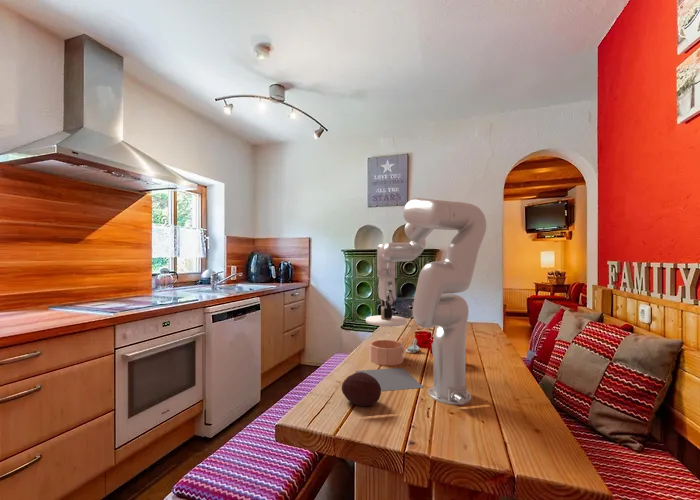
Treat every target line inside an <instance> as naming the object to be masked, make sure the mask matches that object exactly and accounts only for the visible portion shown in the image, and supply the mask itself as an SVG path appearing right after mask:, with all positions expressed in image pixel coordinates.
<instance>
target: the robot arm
mask: <svg viewBox="0 0 700 500" xmlns="http://www.w3.org/2000/svg"><path fill="white" fill-rule="evenodd" d="M402 211H403V218H404V221H405V222H406V224H405V226H404V233H405V236H406V237H407V238H408V239H409V240H410V242H387V243H380V244H378V245H377V248H376V256H377V257H376V259H377V260H376V261H377V262H376V263H377V264H376V266H377V267H376V270H377V271H376V273H377V274H376V276H377V277H378V298H379V299H380V308H381V307H382V306H385V308H384V318H392V316H393V304H394V302H396V300H397V298H396V297H397V292H396V289H397V288H396V280H395V278H396V262H412V261H414V260H415V259H416V258H418V257H419V256H420V255H421V254H422V253H423V252H424V250H425V248H426V238H427V237H429V235H430V234H431V233H432V232H433V231H434V230H442V231H447V230H448V231H457V233H456V235H455V236H454V237H453V238H452V239H451V241H450V243H449V244H448V248H447V251H446V255H445V258H444V260H443V261H431V262H428V263H426V264H425V265H424V266H423V267H422V268H421V270H420V272H419V274H418V279H417V283H416V289H415V294H414V299H413V302H412V303H413V304H412V317H413V319H414V321H415V323H416V324H417V325H418V326H419V327H422V328H425V329H428V328H436V329H435V331H434V334H433V339H432V340H433V342H432V343H433V353H432V358H433V359H432V361H433V363H432V365H433V366H432V367H433V368H432V369H433V371H432V372H433V386H430V387H429V389H428V396H429V397H430V398H431V399H432V400H434V401H437V402H439V403H441V404H446V405H455V406H456V405H461V406H462V405H465V404H468V403H470V402H471V400H472V393H470V392H469V391H468V390H467V387H466V384H467V383H466V378H467V377H466V374H467V373H466V335H467V334H466V331H467V324H468V320H469V311H470V310H469V305H468V303H467V301H466V299H464V297H463V296H461V295H458V294H457V293H463V292H466V291H467V290H468V289H469V287H471V286H470V285H471V283H472V278H473V275H474V271H475V267H476V264H477V258H478V256H479V251H480V248H481V245H482V242H483V241H484V238H485V234H486V231H487V220H486V216H485V214H484V212H483V210H482V209H481V208H480V207H478V206H477V205H474V204H471V203H468V202H461V201H450V200H439V199H430V198H421V197H415V198H411V199H410V200H408V201H407V202H406V204H405V205H404V208H403V210H402Z"/></svg>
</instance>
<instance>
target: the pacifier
mask: <svg viewBox="0 0 700 500" xmlns="http://www.w3.org/2000/svg"><path fill="white" fill-rule="evenodd" d="M417 343H418V339H417V338H416V337H415V338H414V339H413V342H412V344H411V345H409V346H408V348H406V349H405V352H406V353H409V354H414V353H417V352H420V351H419V349H420V346H418V345H417Z"/></svg>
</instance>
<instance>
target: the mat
mask: <svg viewBox="0 0 700 500" xmlns="http://www.w3.org/2000/svg"><path fill="white" fill-rule="evenodd" d="M358 372H363V373H367V374H369V375H371V376H372V377H374V378H375V379H376V380H377V381H378V383H379V384H380V387H381V392H389V391H390V392H391V391H401V390H403V391H404V390H415V389H416V390H417V389H424V388H425V387H424V386H423V385H422V384H421V383H420V382H419V381H418V380H417V379H416V378H415V377H414V376H413V375H412V374H411V373H409V371H408V370H406V369H405V368H404V367H392V368H391V367H390V368H379V369H378V368H375V369H365V370H362V369H361V370H355V373H358Z"/></svg>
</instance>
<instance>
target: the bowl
mask: <svg viewBox="0 0 700 500" xmlns="http://www.w3.org/2000/svg"><path fill="white" fill-rule="evenodd" d="M404 344H405V343H403V342H401V341H399V340H395V339H376V340H373V341H370V342H369V343H368V349H369V350H368V356H369V358H368V359H369V360H370V362H372V363H373V364H375V365H380V366H396V365H400V364H402V363H403V362H404V360H405V345H404Z"/></svg>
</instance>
